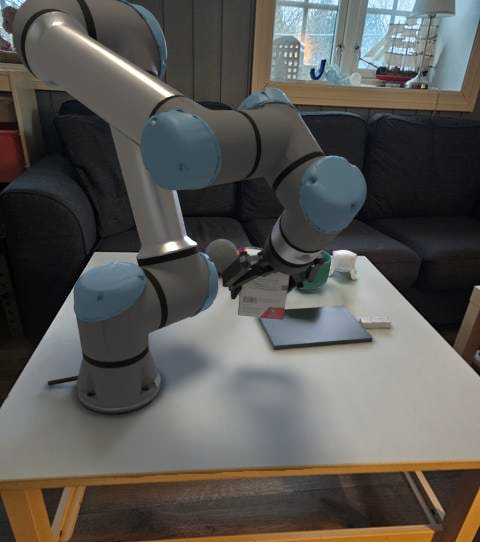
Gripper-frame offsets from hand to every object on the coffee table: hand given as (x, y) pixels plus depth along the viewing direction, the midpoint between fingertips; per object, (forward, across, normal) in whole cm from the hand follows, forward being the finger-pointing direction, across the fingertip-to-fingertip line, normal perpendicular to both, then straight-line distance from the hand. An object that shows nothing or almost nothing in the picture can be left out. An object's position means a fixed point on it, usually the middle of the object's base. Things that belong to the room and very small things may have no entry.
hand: (257, 291), depth 83 cm
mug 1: (+37, +9, +13) cm, 40 cm away
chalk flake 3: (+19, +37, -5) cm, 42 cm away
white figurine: (+40, +39, +16) cm, 59 cm away
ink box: (0, 0, -4) cm, 5 cm away
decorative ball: (+45, +2, +21) cm, 50 cm away
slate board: (+20, +18, -4) cm, 27 cm away
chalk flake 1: (+19, +32, -4) cm, 37 cm away
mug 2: (+37, +23, +13) cm, 46 cm away
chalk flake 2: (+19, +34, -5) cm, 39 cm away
